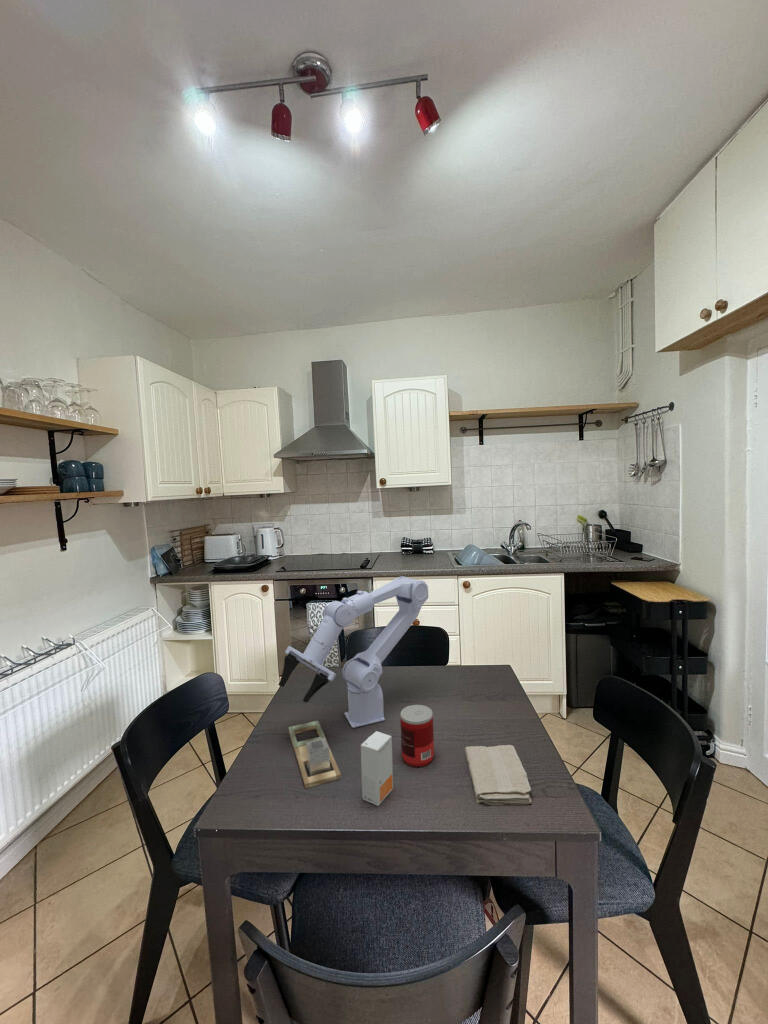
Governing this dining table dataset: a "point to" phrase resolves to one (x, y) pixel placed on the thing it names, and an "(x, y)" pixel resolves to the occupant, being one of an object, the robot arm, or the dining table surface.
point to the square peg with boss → (317, 757)
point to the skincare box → (376, 768)
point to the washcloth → (498, 775)
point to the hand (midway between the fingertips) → (292, 693)
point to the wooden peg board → (302, 758)
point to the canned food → (417, 735)
